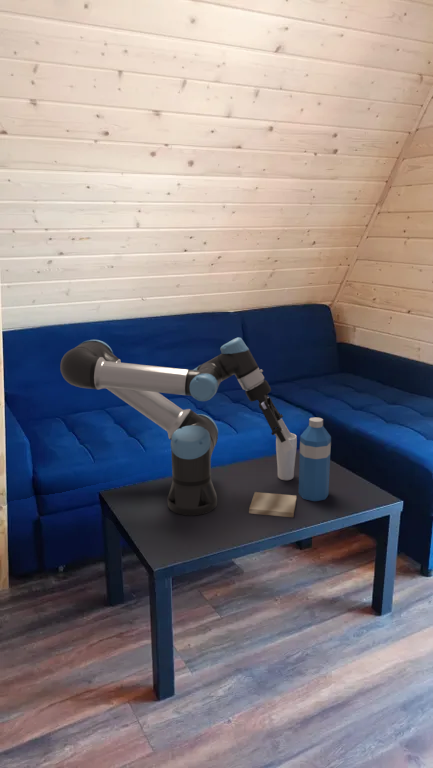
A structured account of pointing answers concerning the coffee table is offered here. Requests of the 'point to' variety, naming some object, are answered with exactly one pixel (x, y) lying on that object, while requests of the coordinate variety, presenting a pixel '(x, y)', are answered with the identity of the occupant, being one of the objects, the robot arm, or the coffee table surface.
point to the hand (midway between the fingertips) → (288, 443)
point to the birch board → (273, 504)
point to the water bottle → (314, 461)
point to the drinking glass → (286, 459)
